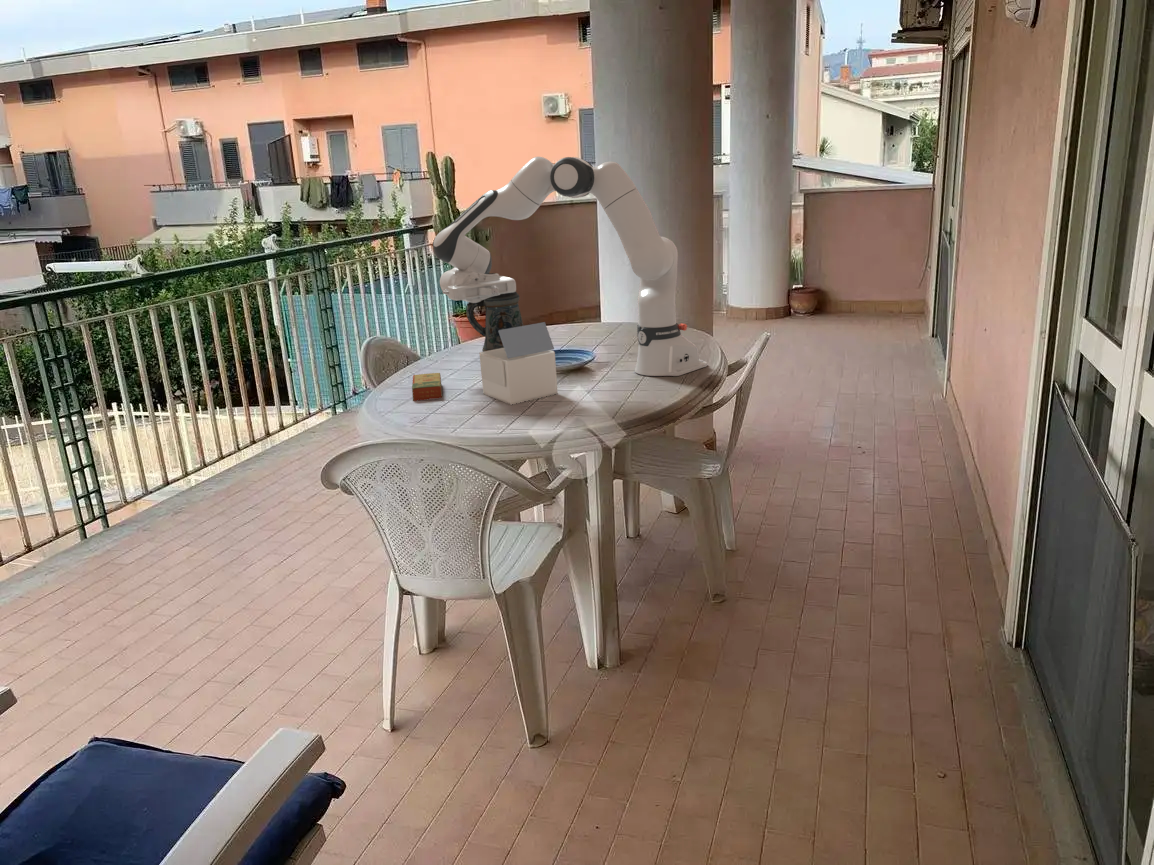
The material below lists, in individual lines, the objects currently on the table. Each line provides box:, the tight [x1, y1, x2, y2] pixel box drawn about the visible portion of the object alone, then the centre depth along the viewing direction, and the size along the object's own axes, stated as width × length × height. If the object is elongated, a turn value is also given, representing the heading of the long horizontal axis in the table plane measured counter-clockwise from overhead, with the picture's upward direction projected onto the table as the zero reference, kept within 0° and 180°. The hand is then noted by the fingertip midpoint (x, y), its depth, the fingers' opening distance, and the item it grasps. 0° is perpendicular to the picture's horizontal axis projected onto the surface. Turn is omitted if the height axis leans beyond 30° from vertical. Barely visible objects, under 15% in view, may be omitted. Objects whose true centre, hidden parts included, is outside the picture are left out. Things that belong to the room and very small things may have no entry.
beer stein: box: [466, 291, 524, 352], centre depth 275 cm, size 16×19×25 cm
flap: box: [498, 321, 555, 358], centre depth 223 cm, size 14×8×1 cm
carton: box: [411, 372, 443, 402], centre depth 240 cm, size 8×16×4 cm, turn 10°
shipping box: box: [479, 348, 559, 406], centre depth 231 cm, size 16×17×12 cm
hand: (494, 291), depth 232 cm, fingers closed
